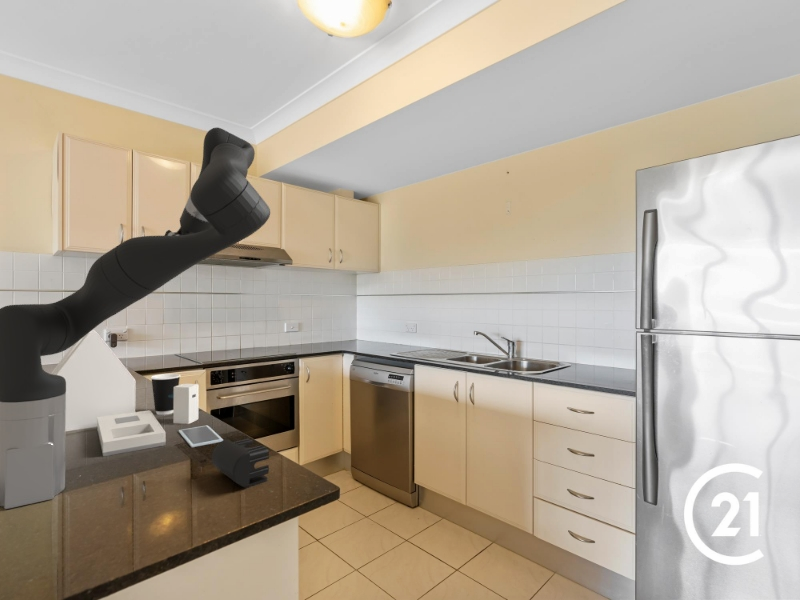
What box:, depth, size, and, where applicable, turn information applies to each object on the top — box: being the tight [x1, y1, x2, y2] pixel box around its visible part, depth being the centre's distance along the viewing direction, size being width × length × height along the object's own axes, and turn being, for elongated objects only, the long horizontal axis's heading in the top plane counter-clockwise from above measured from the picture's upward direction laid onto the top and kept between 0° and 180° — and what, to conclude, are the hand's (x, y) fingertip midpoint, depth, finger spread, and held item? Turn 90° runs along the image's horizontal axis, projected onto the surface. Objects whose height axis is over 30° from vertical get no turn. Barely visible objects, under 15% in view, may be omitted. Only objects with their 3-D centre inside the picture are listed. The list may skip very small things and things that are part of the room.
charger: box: [172, 383, 200, 425], centre depth 118 cm, size 5×4×10 cm
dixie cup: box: [150, 373, 182, 416], centre depth 126 cm, size 8×8×11 cm
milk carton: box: [50, 328, 137, 432], centre depth 117 cm, size 19×15×25 cm
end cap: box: [211, 438, 270, 489], centre depth 81 cm, size 10×7×7 cm
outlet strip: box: [96, 410, 167, 457], centre depth 105 cm, size 24×12×3 cm, turn 38°
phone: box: [178, 424, 224, 448], centre depth 105 cm, size 14×7×1 cm, turn 39°
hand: (179, 264), depth 106 cm, fingers open, 8 cm apart
